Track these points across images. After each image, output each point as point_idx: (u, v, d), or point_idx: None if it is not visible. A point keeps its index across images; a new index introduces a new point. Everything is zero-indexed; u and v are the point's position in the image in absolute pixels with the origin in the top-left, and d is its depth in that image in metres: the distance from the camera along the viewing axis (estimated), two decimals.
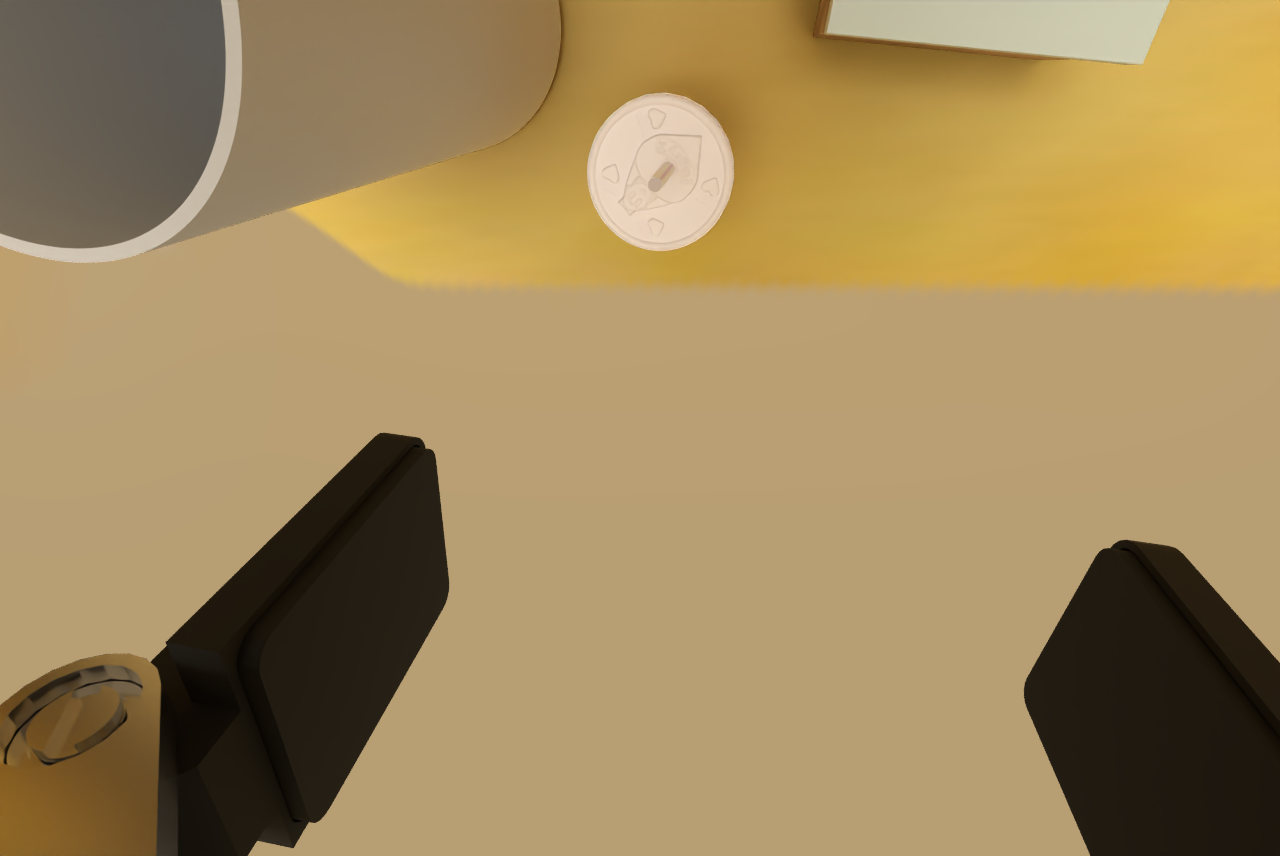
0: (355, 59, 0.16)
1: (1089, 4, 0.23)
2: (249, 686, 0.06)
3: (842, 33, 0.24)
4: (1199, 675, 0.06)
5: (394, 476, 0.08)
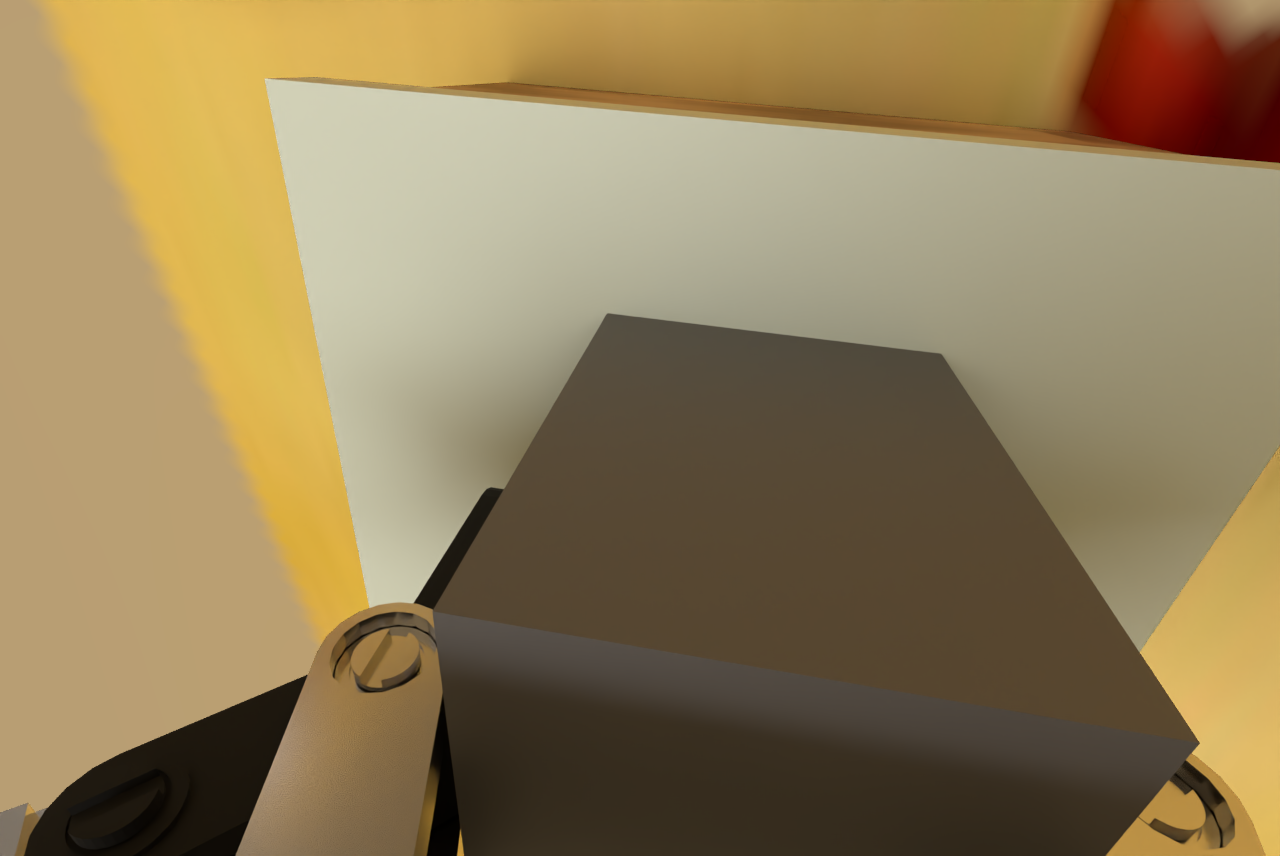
0: None
1: None
2: None
3: (277, 126, 0.09)
4: None
5: None
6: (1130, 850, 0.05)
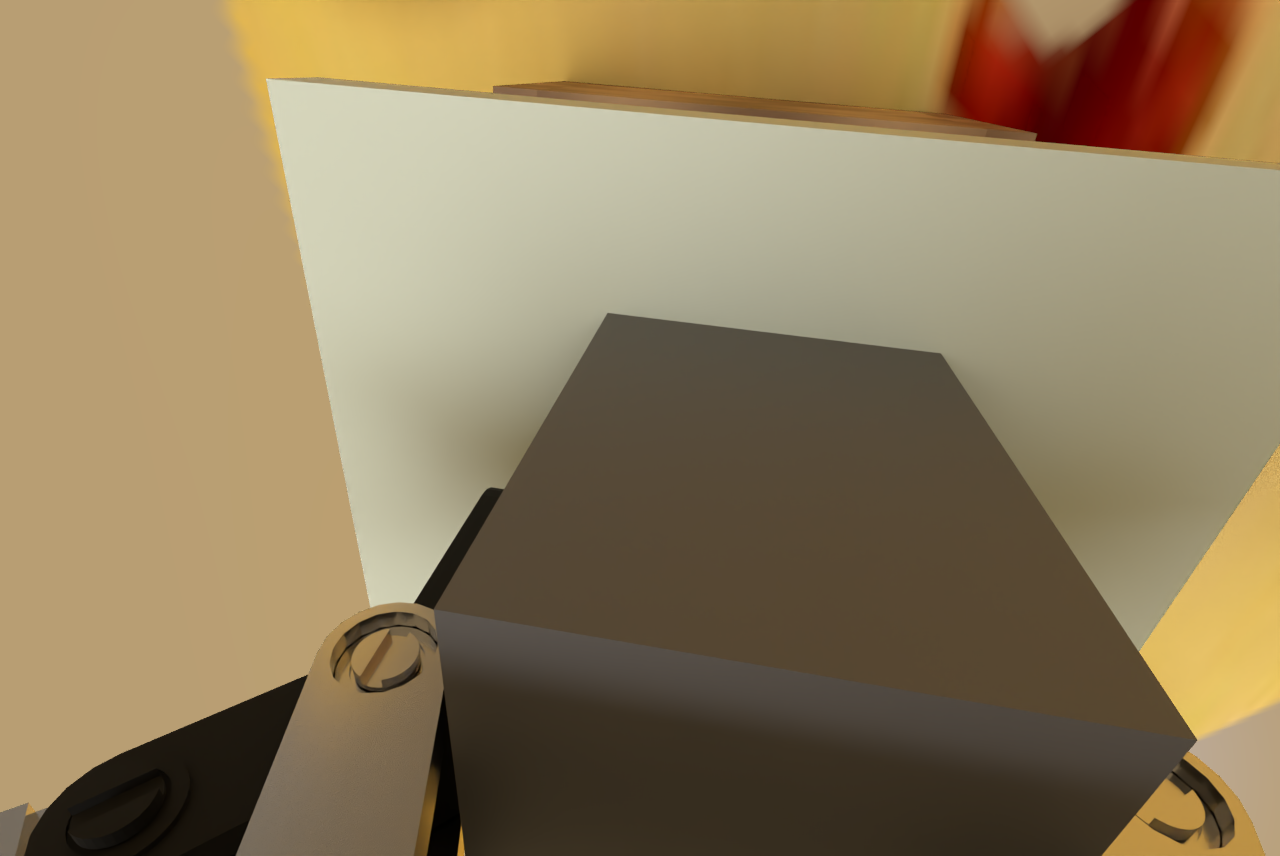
0: None
1: None
2: None
3: (279, 126, 0.09)
4: None
5: None
6: (1130, 850, 0.05)
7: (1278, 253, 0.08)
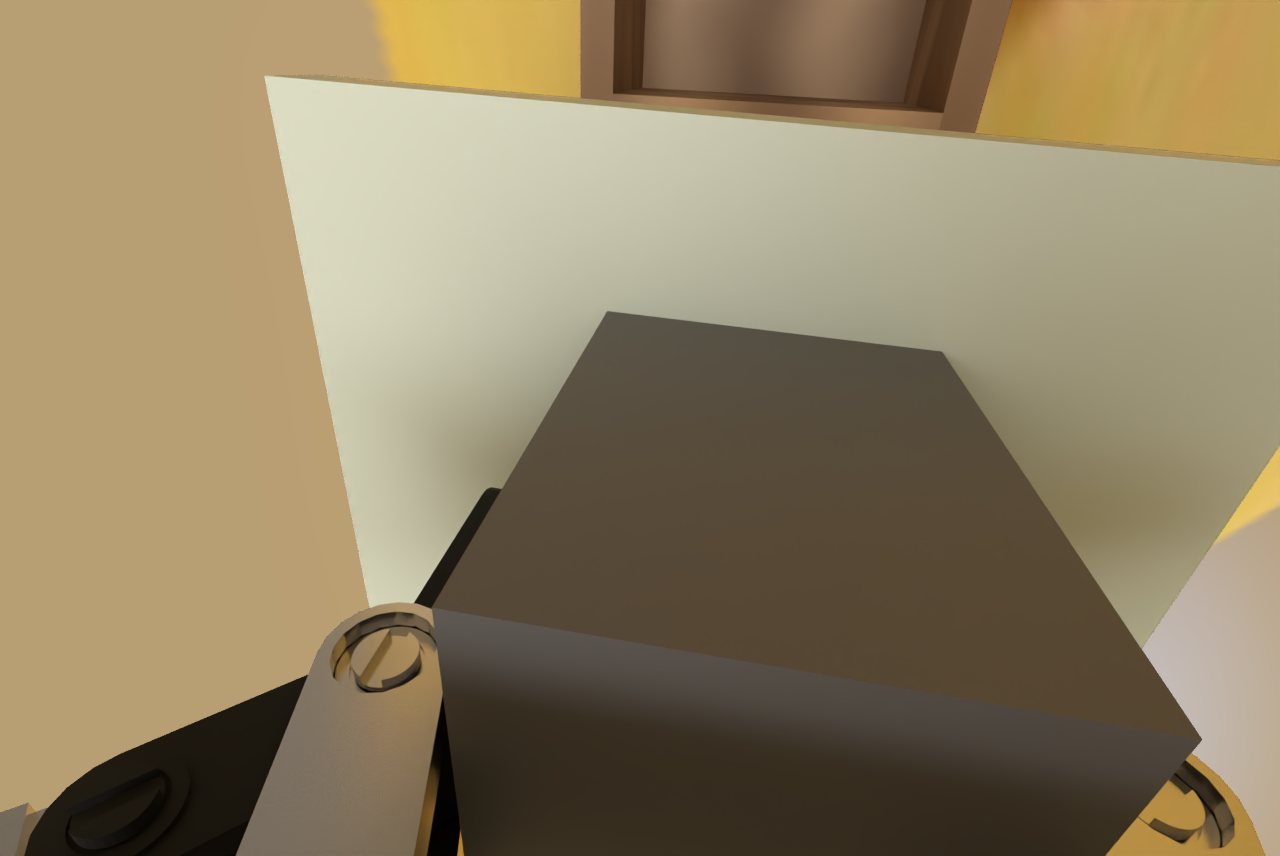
0: None
1: None
2: None
3: (277, 123, 0.09)
4: None
5: None
6: (1130, 850, 0.05)
7: None
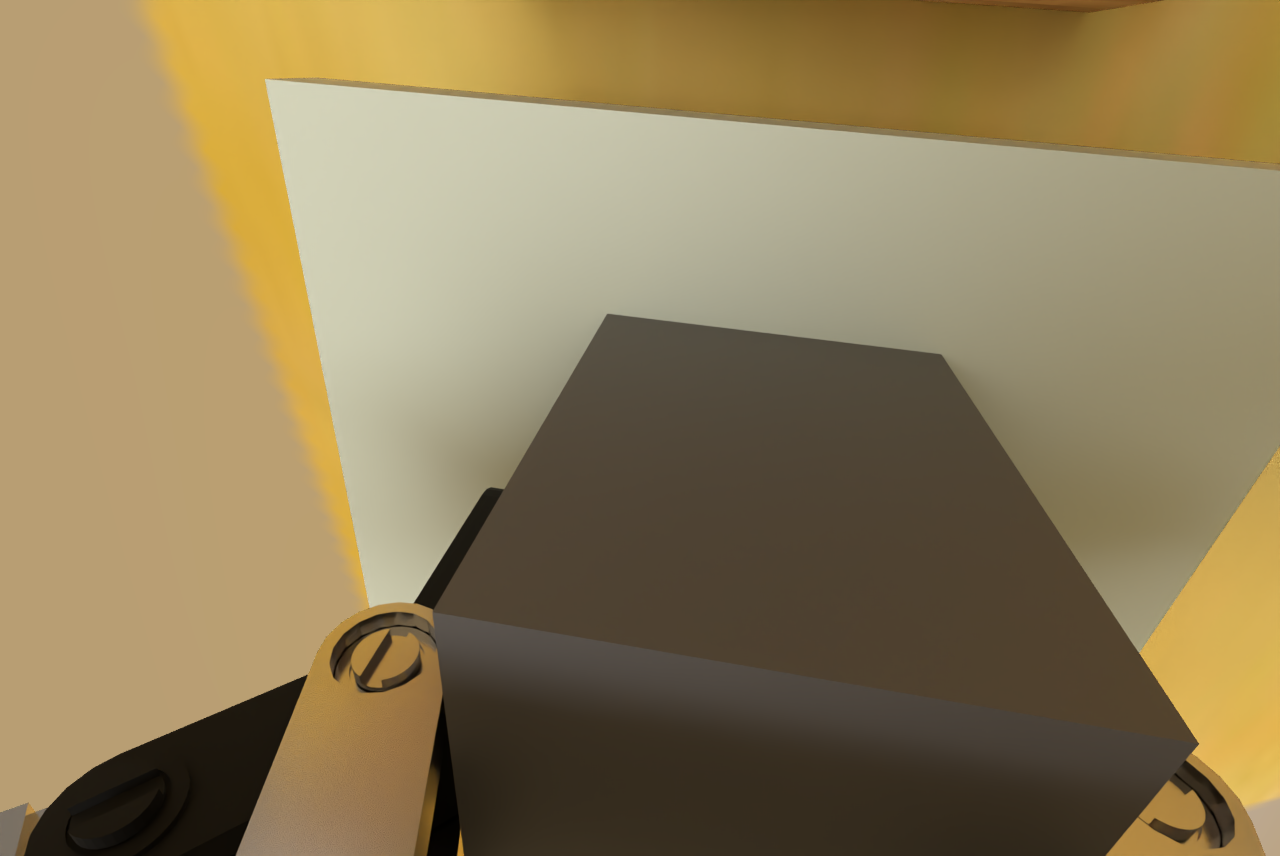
0: None
1: None
2: None
3: (278, 127, 0.09)
4: None
5: None
6: (1130, 850, 0.05)
7: (1279, 254, 0.08)
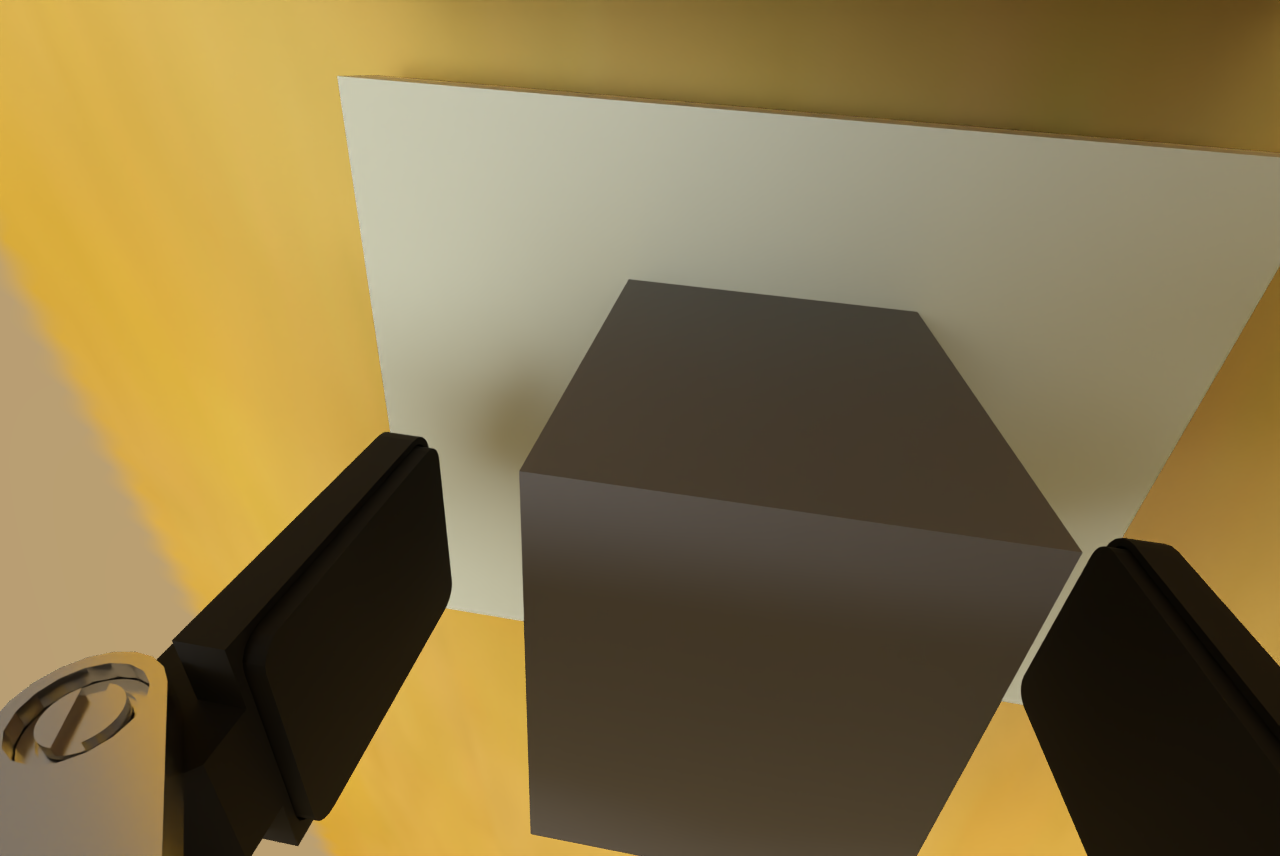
0: None
1: (473, 532, 0.14)
2: (255, 684, 0.06)
3: (346, 117, 0.10)
4: (1193, 672, 0.06)
5: (398, 475, 0.08)
6: None
7: (1198, 221, 0.09)
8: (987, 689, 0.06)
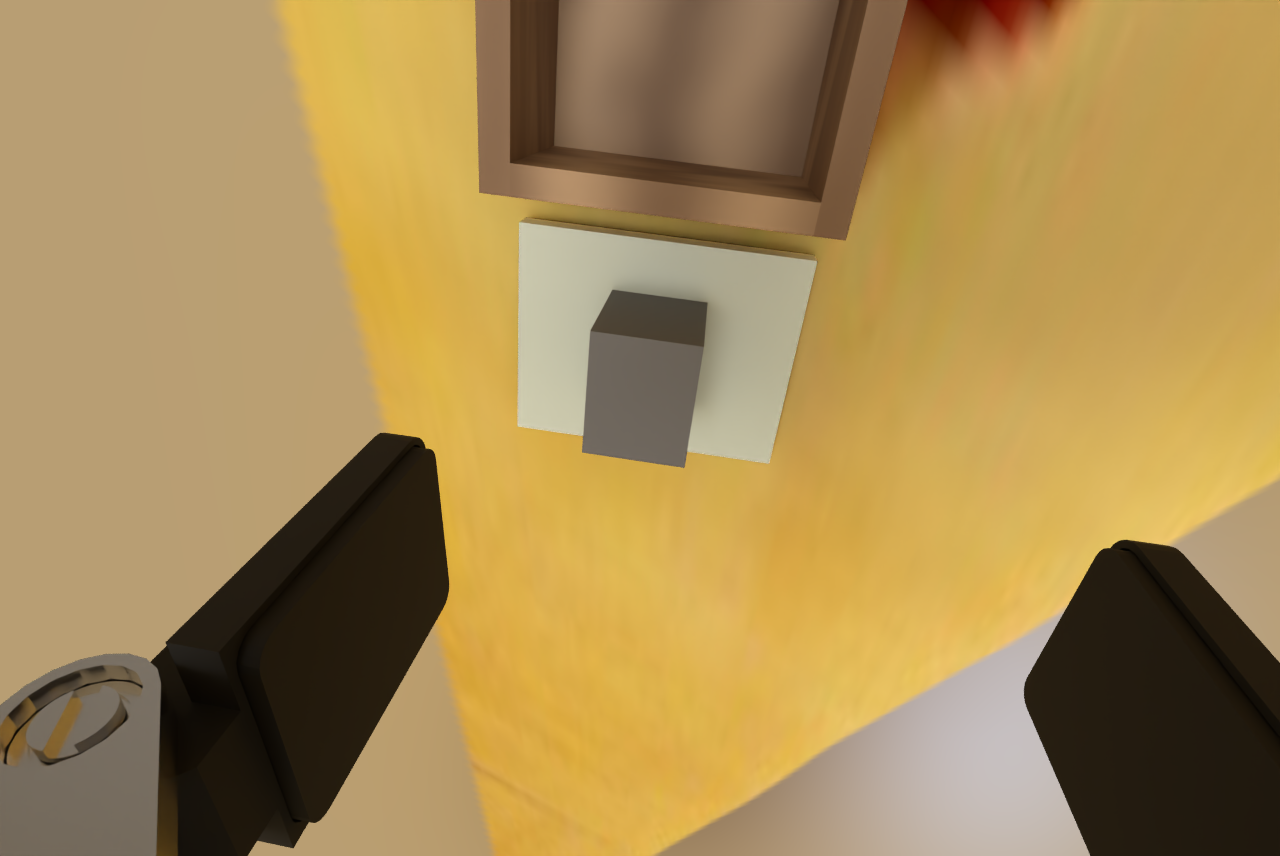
0: None
1: (547, 390, 0.35)
2: (249, 686, 0.06)
3: (519, 234, 0.31)
4: (1199, 675, 0.06)
5: (394, 476, 0.08)
6: None
7: (784, 276, 0.30)
8: (693, 384, 0.27)
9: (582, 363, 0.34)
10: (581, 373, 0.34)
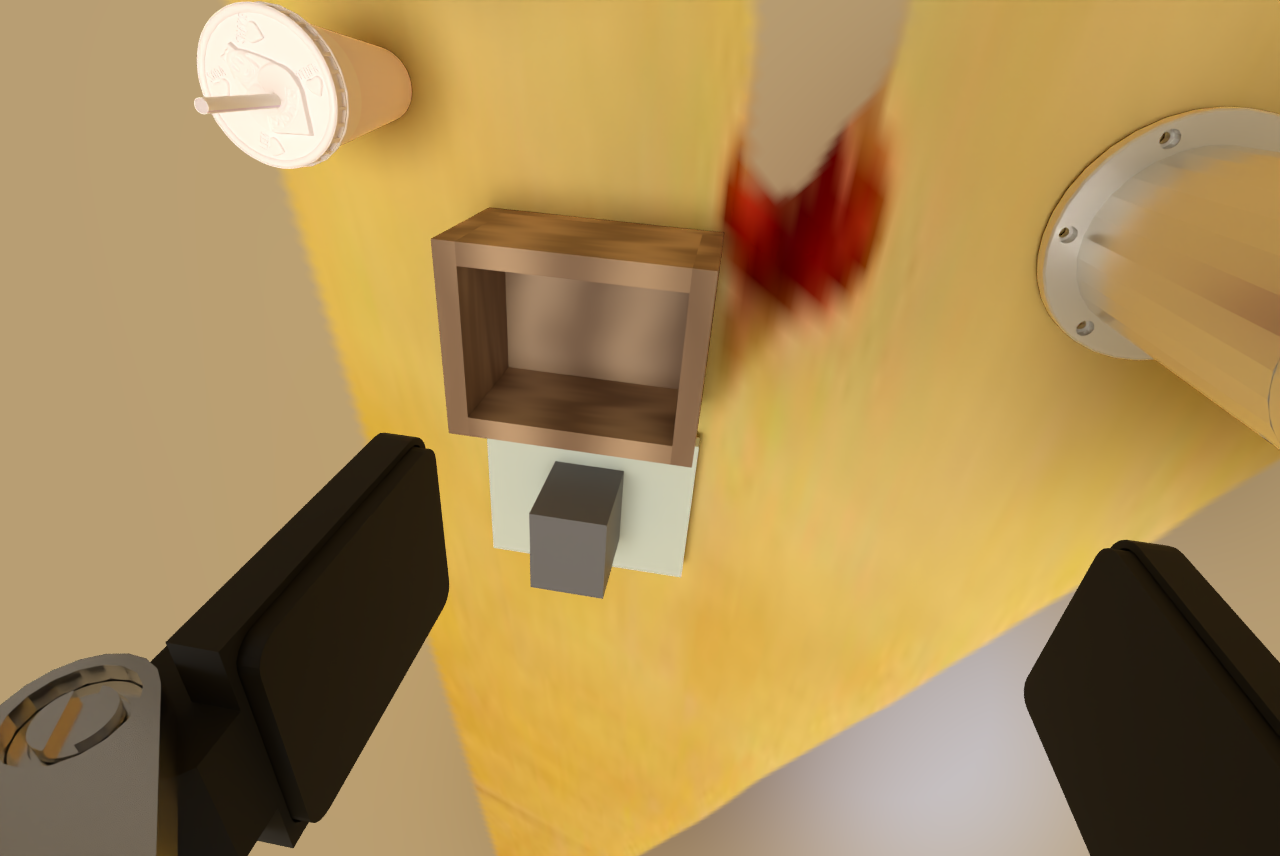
0: None
1: (513, 524, 0.47)
2: (249, 686, 0.06)
3: None
4: (1199, 675, 0.06)
5: (394, 476, 0.08)
6: None
7: None
8: (602, 547, 0.39)
9: None
10: None
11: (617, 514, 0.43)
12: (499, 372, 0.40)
